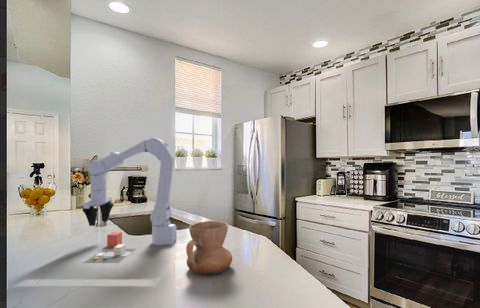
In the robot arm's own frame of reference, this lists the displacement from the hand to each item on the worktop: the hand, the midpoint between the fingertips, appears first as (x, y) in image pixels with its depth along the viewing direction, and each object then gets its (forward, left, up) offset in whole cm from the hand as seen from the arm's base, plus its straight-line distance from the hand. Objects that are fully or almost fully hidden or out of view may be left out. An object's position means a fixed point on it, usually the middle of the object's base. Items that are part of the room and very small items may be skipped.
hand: (98, 223), depth 110 cm
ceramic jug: (-48, +22, -10) cm, 54 cm away
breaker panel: (-12, +13, -10) cm, 21 cm away
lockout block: (-7, +1, -10) cm, 12 cm away
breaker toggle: (-15, +12, -8) cm, 21 cm away
